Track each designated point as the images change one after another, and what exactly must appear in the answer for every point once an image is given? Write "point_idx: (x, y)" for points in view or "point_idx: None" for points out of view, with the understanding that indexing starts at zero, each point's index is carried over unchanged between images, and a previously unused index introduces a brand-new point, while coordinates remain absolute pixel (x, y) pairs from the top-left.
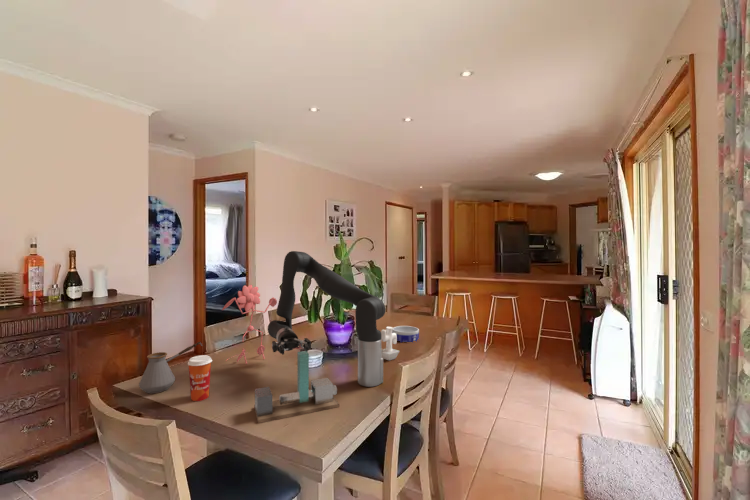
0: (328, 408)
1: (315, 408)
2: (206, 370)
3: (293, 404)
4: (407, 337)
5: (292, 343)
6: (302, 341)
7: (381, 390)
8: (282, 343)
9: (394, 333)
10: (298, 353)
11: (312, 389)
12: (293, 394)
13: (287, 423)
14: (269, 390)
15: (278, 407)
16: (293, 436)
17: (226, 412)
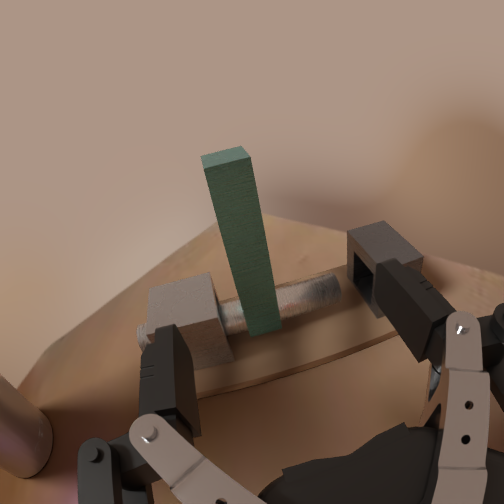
0: None
1: (227, 299)
2: None
3: (295, 320)
4: None
5: (338, 459)
6: (175, 481)
7: (32, 383)
8: (464, 370)
9: None
10: (246, 152)
11: (221, 308)
12: (290, 284)
13: (301, 264)
14: (368, 250)
15: (340, 304)
16: (281, 234)
17: (477, 297)
